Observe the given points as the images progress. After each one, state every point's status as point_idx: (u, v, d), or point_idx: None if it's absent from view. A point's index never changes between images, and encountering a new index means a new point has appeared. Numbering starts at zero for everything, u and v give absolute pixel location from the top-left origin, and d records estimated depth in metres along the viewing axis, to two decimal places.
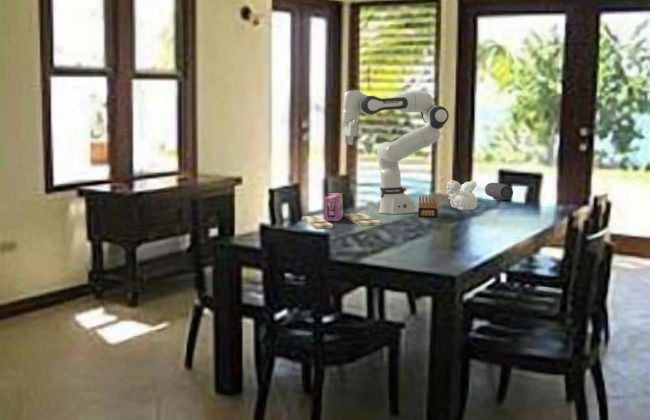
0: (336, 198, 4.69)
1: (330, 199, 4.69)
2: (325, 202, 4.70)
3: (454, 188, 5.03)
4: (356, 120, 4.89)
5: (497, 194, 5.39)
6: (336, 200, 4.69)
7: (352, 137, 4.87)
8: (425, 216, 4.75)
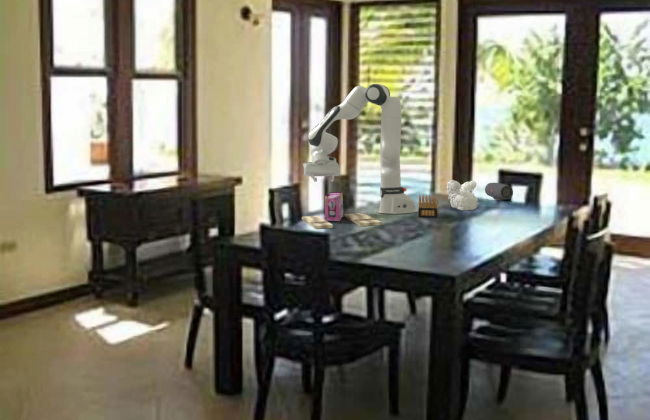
0: (337, 198, 4.69)
1: (331, 199, 4.69)
2: (326, 202, 4.70)
3: (454, 188, 5.03)
4: (315, 159, 5.05)
5: (497, 194, 5.39)
6: (337, 200, 4.69)
7: (311, 175, 5.01)
8: (425, 216, 4.75)
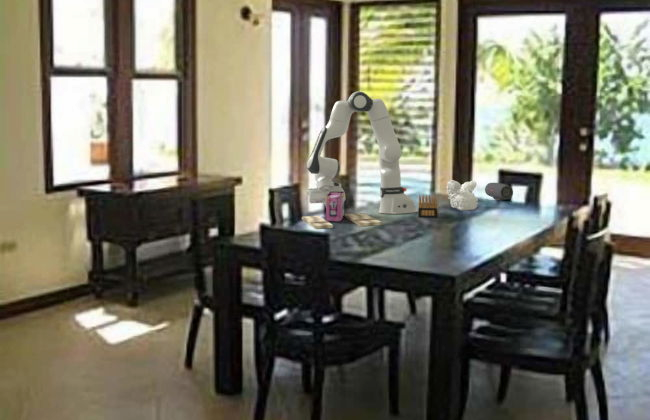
0: (338, 198, 4.69)
1: (332, 198, 4.69)
2: (327, 201, 4.70)
3: (454, 188, 5.03)
4: (319, 186, 4.97)
5: (497, 194, 5.39)
6: (338, 200, 4.69)
7: (323, 201, 4.93)
8: (425, 216, 4.75)
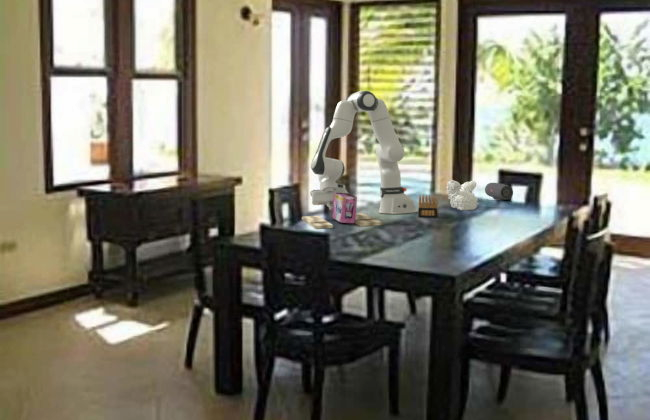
0: (355, 199, 4.59)
1: (349, 200, 4.58)
2: (344, 202, 4.58)
3: (454, 188, 5.03)
4: (323, 187, 4.84)
5: (497, 194, 5.39)
6: (355, 201, 4.59)
7: (327, 203, 4.81)
8: (425, 216, 4.75)
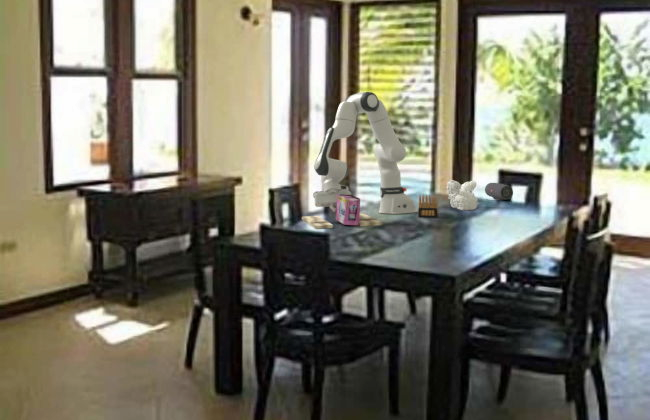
0: (359, 201, 4.51)
1: (353, 201, 4.49)
2: (347, 204, 4.50)
3: (454, 188, 5.03)
4: (326, 188, 4.76)
5: (497, 194, 5.39)
6: (359, 203, 4.51)
7: (330, 205, 4.72)
8: (425, 216, 4.75)
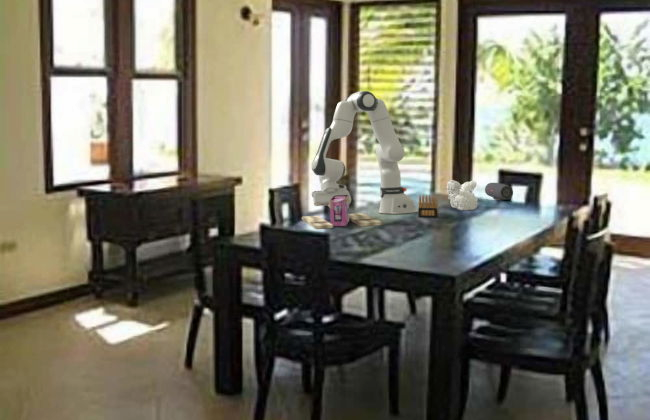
0: (343, 201, 4.51)
1: (336, 203, 4.50)
2: (331, 206, 4.52)
3: (454, 188, 5.03)
4: (324, 188, 4.84)
5: (497, 194, 5.39)
6: (343, 204, 4.51)
7: (328, 204, 4.80)
8: (425, 216, 4.75)
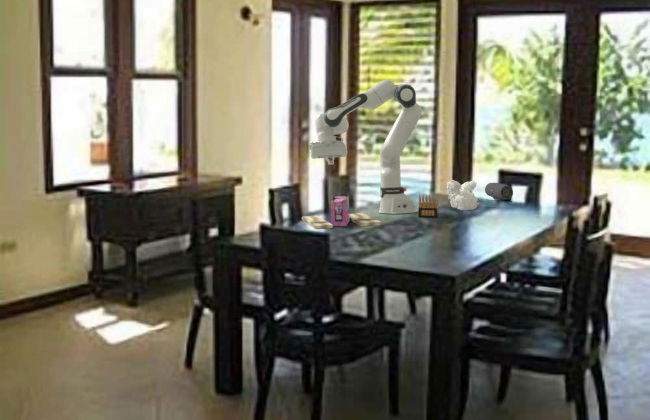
0: (344, 202, 4.51)
1: (337, 203, 4.50)
2: (332, 206, 4.52)
3: (454, 188, 5.03)
4: (321, 140, 4.91)
5: (497, 194, 5.39)
6: (344, 204, 4.51)
7: (325, 157, 4.90)
8: (425, 216, 4.75)
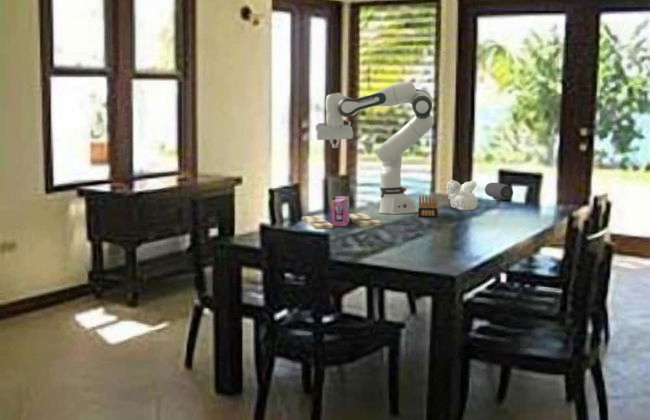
0: (344, 202, 4.51)
1: (338, 203, 4.51)
2: (332, 206, 4.52)
3: (454, 188, 5.03)
4: (329, 123, 4.92)
5: (497, 194, 5.39)
6: (344, 204, 4.51)
7: (330, 140, 4.95)
8: (425, 216, 4.75)
